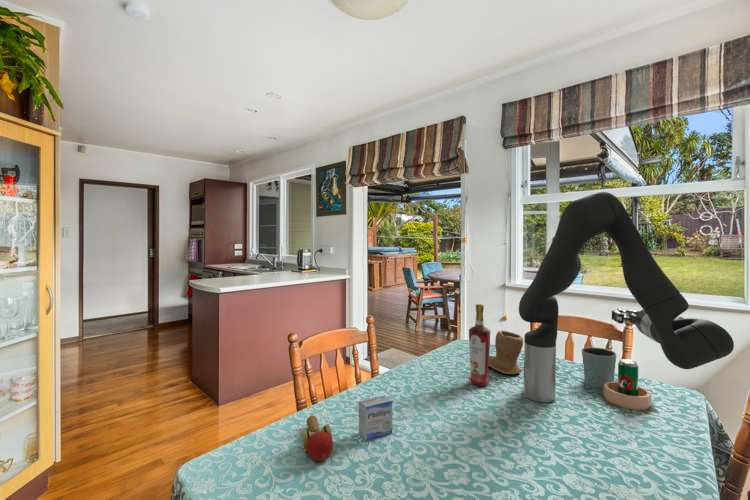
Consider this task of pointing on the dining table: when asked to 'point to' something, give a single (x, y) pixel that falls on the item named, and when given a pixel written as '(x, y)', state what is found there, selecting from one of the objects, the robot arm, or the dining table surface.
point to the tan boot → (506, 352)
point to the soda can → (628, 377)
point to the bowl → (627, 397)
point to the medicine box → (375, 417)
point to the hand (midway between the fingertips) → (636, 312)
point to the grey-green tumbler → (598, 366)
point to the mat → (651, 409)
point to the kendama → (317, 440)
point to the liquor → (479, 349)
